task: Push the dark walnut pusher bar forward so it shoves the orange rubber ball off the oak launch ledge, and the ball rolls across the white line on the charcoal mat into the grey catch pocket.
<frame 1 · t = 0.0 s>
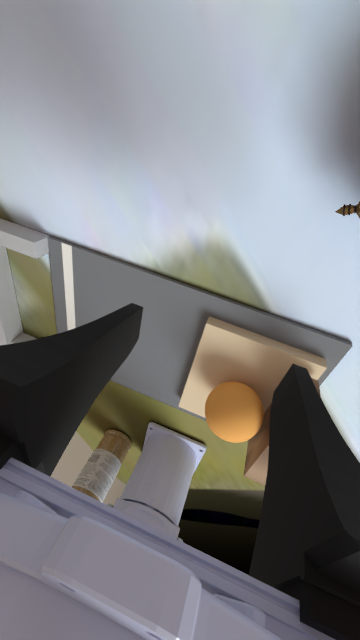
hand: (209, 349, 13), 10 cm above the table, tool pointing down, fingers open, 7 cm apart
sprinkles bottle: (120, 436, 41), on the table
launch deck: (203, 364, 27), on the table
ball: (233, 410, 24), point 4 cm above the table, touching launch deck
pusher bar: (278, 431, 23), point 4 cm above the table, slide at 0.0 cm
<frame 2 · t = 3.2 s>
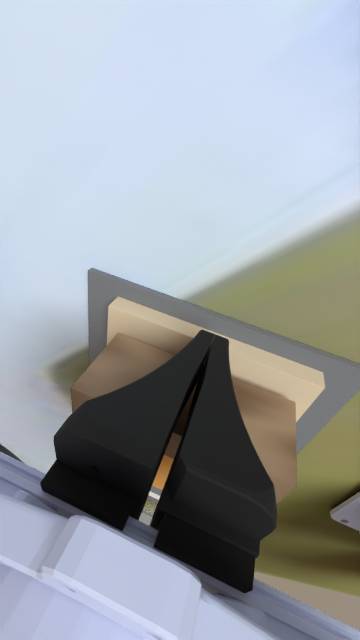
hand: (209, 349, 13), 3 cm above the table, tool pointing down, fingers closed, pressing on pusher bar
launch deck: (184, 416, 21), on the table
ball: (174, 440, 16), point 4 cm above the table, tilted 8°, touching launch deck
pusher bar: (186, 407, 13), point 4 cm above the table, slide at 0.9 cm, touching gripper
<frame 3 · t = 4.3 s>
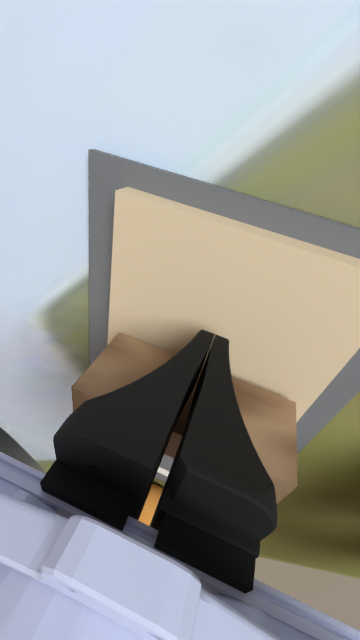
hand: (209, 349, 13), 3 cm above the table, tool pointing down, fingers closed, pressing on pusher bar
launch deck: (204, 363, 17), on the table
ball: (148, 512, 27), point 2 cm above the table, tilted 164°
pusher bar: (187, 407, 13), point 4 cm above the table, slide at 6.9 cm, touching gripper
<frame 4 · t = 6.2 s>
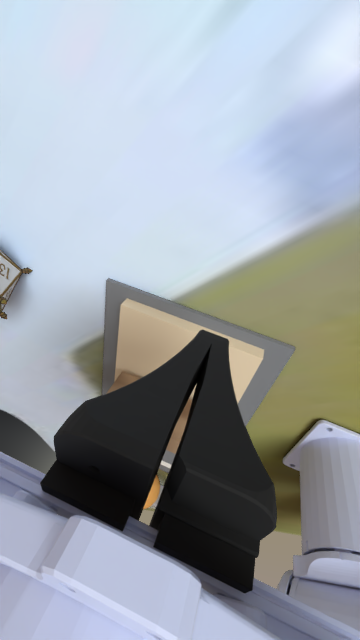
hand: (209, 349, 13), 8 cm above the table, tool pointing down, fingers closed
game die: (6, 257, 26), on the table
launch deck: (174, 387, 28), on the table
ball: (142, 487, 38), point 2 cm above the table, tilted 170°
pusher bar: (160, 415, 24), point 4 cm above the table, slide at 6.9 cm
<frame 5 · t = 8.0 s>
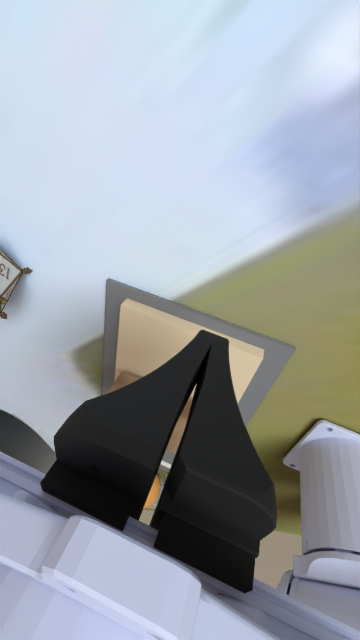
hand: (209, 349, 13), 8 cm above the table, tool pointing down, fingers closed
game die: (6, 257, 26), on the table
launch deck: (174, 387, 28), on the table
ball: (142, 486, 38), point 2 cm above the table, tilted 175°
pusher bar: (160, 415, 24), point 4 cm above the table, slide at 6.9 cm
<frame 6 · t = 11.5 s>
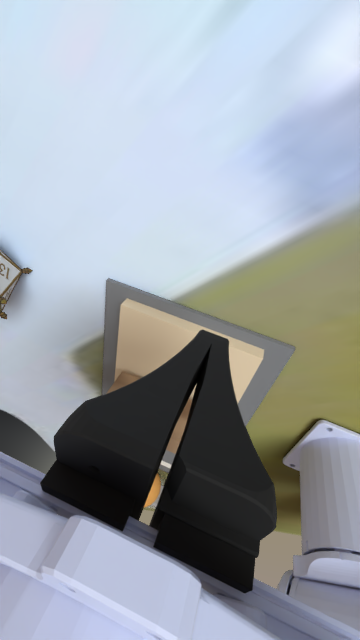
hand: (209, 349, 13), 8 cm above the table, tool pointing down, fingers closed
game die: (6, 257, 26), on the table
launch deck: (174, 387, 28), on the table
ball: (142, 485, 38), point 2 cm above the table, tilted 174°
pusher bar: (160, 415, 24), point 4 cm above the table, slide at 6.9 cm
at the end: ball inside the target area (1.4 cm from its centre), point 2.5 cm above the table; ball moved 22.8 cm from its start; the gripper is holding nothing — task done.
